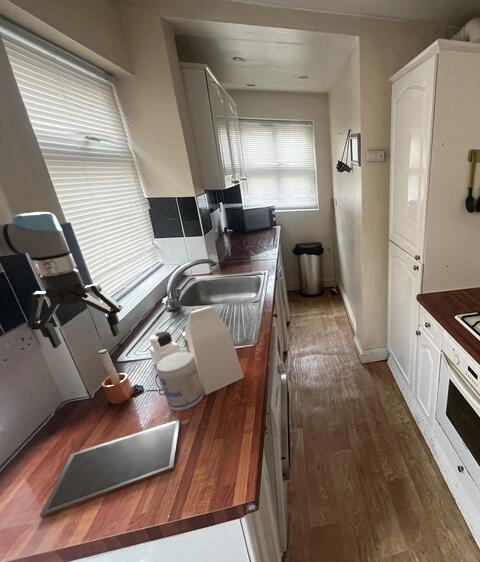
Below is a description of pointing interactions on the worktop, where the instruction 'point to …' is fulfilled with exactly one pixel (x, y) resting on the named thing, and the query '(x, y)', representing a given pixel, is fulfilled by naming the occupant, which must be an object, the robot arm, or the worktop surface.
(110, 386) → the pen cup
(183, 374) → the supplement tub
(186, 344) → the sprinkles bottle
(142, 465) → the tablet
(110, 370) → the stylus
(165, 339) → the medicine bottle
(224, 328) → the milk
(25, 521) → the worktop surface
